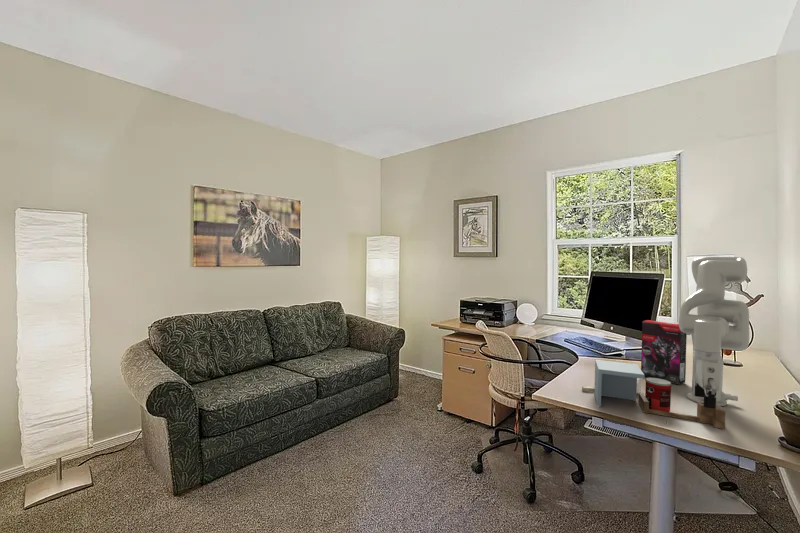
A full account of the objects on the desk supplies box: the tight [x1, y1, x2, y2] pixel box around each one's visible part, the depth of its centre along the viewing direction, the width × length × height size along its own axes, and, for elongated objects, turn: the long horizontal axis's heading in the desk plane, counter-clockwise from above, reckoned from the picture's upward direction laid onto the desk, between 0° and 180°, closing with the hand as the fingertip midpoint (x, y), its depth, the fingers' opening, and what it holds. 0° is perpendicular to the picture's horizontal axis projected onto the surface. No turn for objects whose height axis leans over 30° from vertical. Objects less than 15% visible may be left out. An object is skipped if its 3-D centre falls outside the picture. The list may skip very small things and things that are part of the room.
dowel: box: [581, 385, 595, 393], centre depth 160 cm, size 12×2×2 cm, turn 80°
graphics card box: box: [640, 319, 688, 385], centre depth 178 cm, size 17×7×27 cm, turn 32°
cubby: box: [593, 359, 645, 408], centre depth 147 cm, size 15×15×14 cm
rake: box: [637, 391, 727, 430], centre depth 137 cm, size 23×15×6 cm, turn 66°
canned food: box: [644, 377, 672, 412], centre depth 142 cm, size 8×8×11 cm
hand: (704, 401), depth 132 cm, fingers open, 9 cm apart
